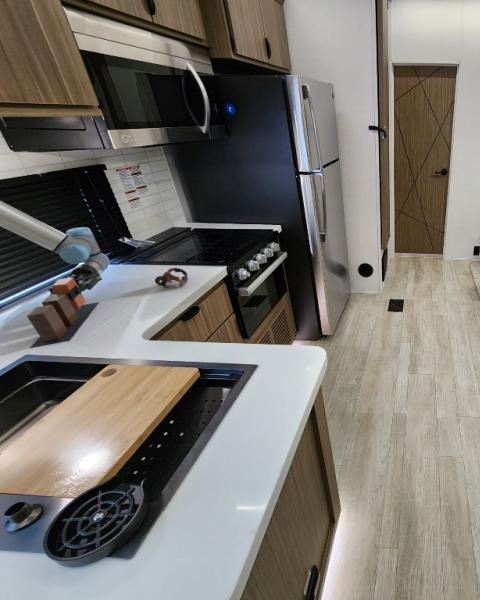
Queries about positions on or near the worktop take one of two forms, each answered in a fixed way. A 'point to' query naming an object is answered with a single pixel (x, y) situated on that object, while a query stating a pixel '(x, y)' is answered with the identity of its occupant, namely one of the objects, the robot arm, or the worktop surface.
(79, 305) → the terracotta toy brick
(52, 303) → the brown wooden block
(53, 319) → the dark brown cuboid
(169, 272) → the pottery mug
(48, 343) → the dark gray mat
